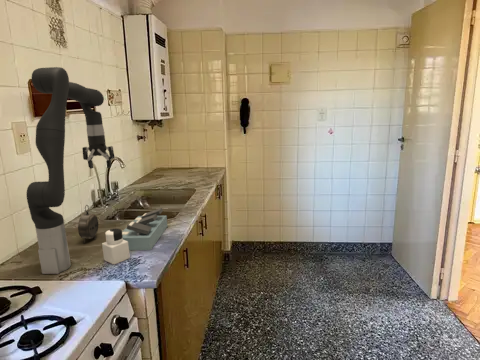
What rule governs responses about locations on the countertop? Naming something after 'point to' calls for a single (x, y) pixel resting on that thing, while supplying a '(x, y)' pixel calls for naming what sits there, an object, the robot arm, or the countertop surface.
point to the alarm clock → (88, 225)
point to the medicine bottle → (115, 247)
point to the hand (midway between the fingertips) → (100, 168)
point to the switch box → (142, 240)
